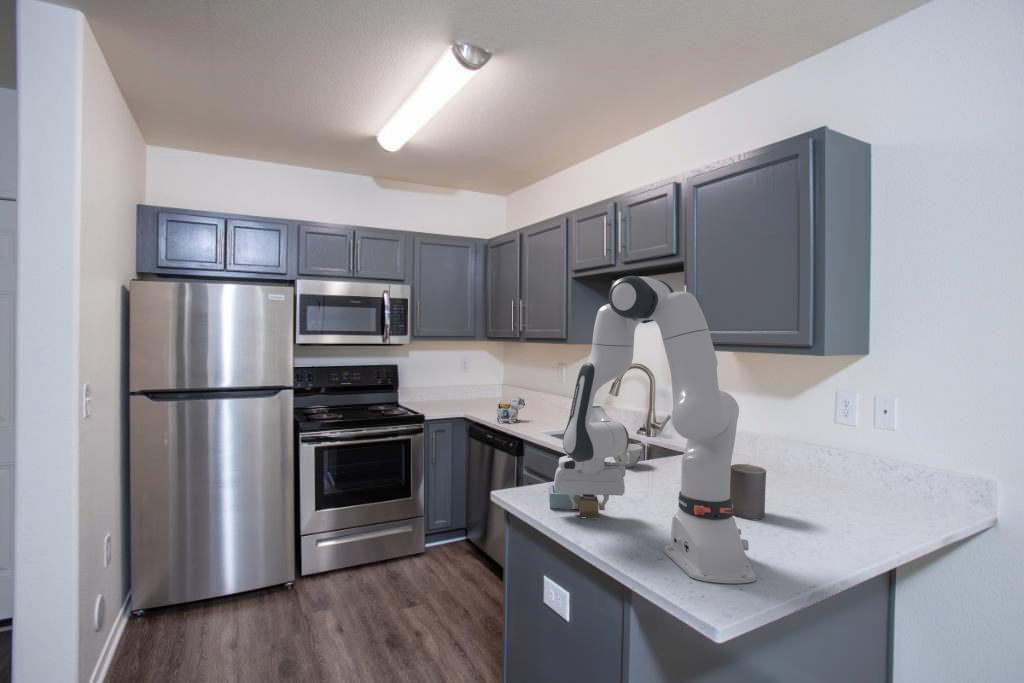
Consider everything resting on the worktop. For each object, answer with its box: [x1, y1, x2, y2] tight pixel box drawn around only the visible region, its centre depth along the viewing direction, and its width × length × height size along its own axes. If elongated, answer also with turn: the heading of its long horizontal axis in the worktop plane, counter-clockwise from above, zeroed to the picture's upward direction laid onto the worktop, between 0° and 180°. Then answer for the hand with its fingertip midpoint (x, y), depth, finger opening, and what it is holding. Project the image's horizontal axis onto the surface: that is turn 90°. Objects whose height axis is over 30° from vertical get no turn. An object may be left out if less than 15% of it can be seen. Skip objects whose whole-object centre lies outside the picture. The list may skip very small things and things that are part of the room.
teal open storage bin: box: [548, 484, 583, 510], centre depth 164 cm, size 16×12×6 cm
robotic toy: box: [496, 396, 526, 424], centre depth 309 cm, size 13×17×15 cm
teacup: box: [612, 443, 644, 469], centre depth 209 cm, size 15×12×8 cm
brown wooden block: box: [578, 494, 599, 519], centre depth 152 cm, size 6×5×6 cm
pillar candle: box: [730, 463, 767, 520], centre depth 155 cm, size 10×10×15 cm
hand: (588, 509), depth 152 cm, fingers open, 6 cm apart
